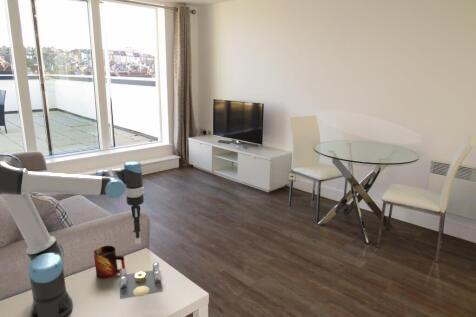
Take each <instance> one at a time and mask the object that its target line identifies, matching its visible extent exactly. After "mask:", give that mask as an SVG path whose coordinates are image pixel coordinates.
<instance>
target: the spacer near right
mask: <svg viewBox="0 0 476 317" xmlns="http://www.w3.org/2000/svg"><path fill="white" fill-rule="evenodd" d="M161 278H162V276H161V270H160V269H159V270H156V271H154V283H160V282H161V283H162V279H161Z"/></svg>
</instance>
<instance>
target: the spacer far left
mask: <svg viewBox="0 0 476 317" xmlns="http://www.w3.org/2000/svg"><path fill="white" fill-rule="evenodd" d="M119 269H120V273H119V278H120V277H121V276H126V278H127V274H128V273H127V267H126V266H125V267H122V266H121V267H120V268H119Z"/></svg>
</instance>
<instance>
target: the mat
mask: <svg viewBox="0 0 476 317" xmlns="http://www.w3.org/2000/svg"><path fill="white" fill-rule="evenodd" d="M142 272H143V273H146V279H145V281H143V282H140V283H139V282H136V281H135V275H136V273H137V272H135V273H129V274H128V273H127V288H126V289H120V288H119V300H120V299H121V300H122V299H129V298H134V297H142V296H146V295H150V294H157V293H161V292H163V291H164V290H163V285H162V281H161V282H160V283H154V274H153V269H152V270H147V271H142Z"/></svg>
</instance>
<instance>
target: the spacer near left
mask: <svg viewBox="0 0 476 317" xmlns="http://www.w3.org/2000/svg"><path fill="white" fill-rule="evenodd" d="M118 279H119V290H120V289H126V288H127V278H126V276H121V277H120V276H119V278H118Z"/></svg>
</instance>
